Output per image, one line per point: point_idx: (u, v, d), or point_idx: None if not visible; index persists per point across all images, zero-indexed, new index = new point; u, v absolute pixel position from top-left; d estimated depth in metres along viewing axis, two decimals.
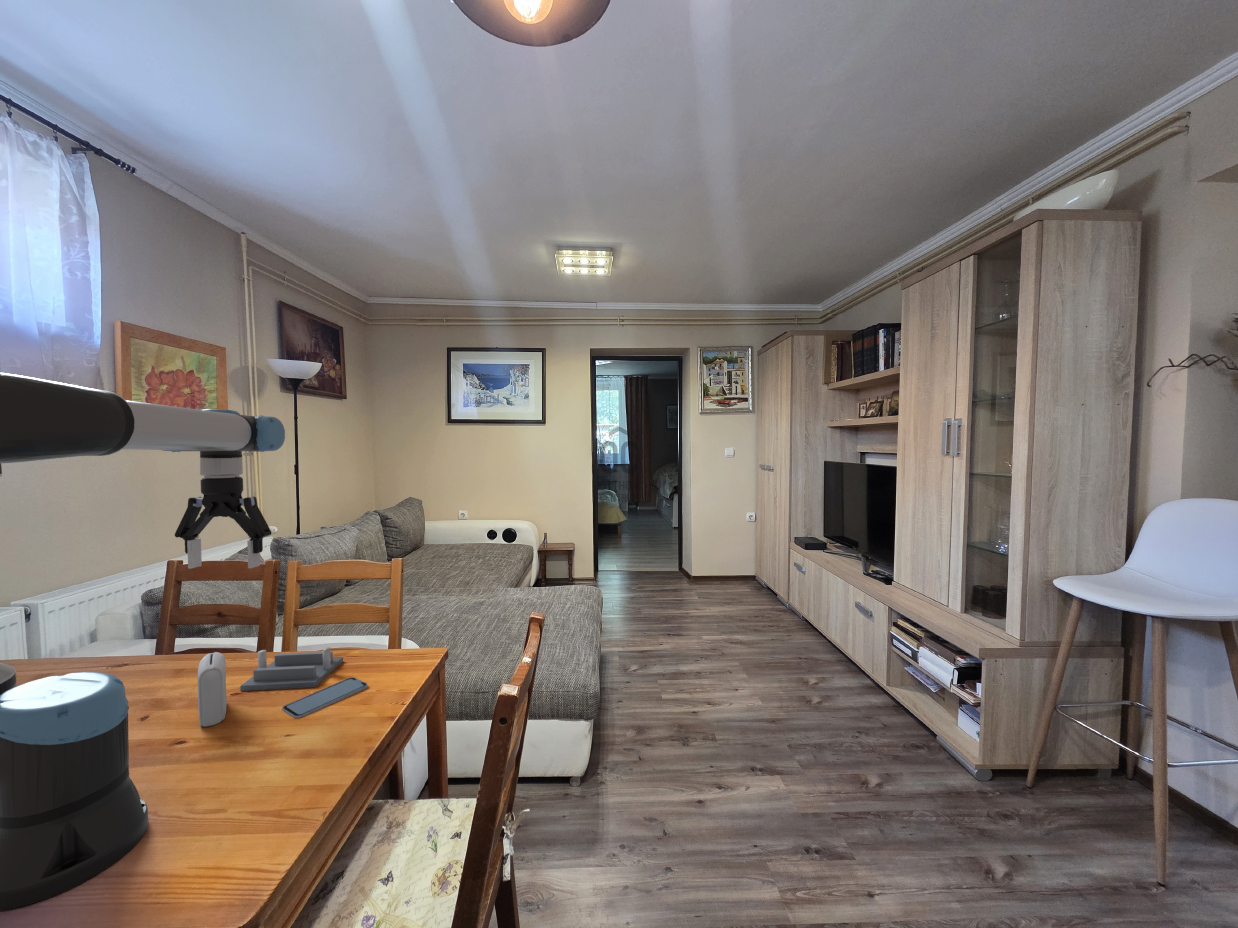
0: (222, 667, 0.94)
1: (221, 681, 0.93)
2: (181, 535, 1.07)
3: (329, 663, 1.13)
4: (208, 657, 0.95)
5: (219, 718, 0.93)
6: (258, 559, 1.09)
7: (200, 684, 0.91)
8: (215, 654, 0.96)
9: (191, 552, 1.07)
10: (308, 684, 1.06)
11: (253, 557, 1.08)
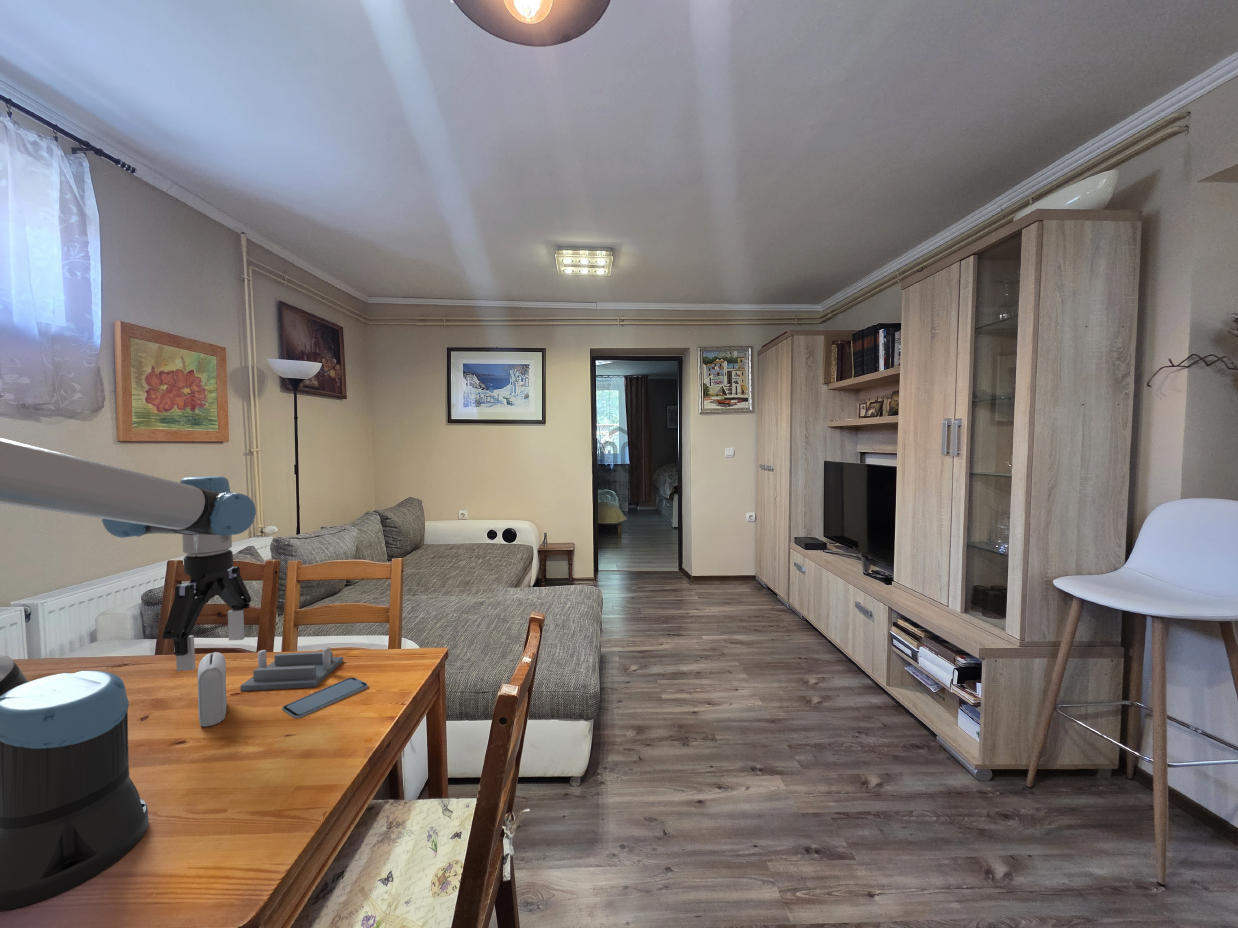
0: (222, 667, 0.94)
1: (221, 681, 0.93)
2: None
3: (329, 663, 1.13)
4: (207, 657, 0.95)
5: (219, 718, 0.93)
6: (189, 662, 0.88)
7: (200, 684, 0.91)
8: (215, 654, 0.96)
9: (229, 623, 1.02)
10: (308, 684, 1.06)
11: (180, 659, 0.88)
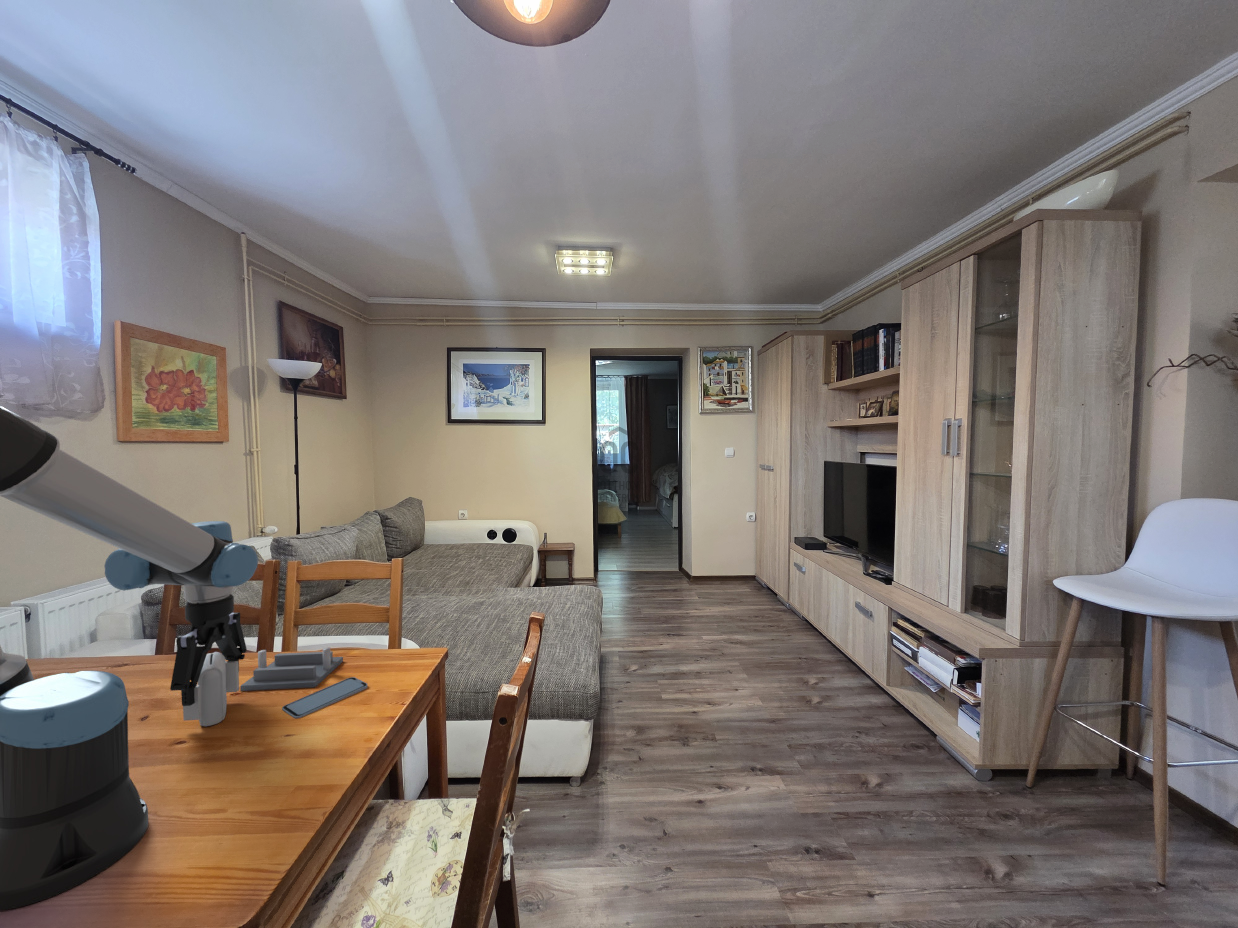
0: (222, 667, 0.94)
1: (221, 681, 0.93)
2: None
3: (329, 663, 1.13)
4: (207, 657, 0.95)
5: (219, 718, 0.93)
6: (195, 711, 0.90)
7: (200, 684, 0.91)
8: (215, 654, 0.96)
9: None
10: (308, 684, 1.06)
11: (187, 708, 0.90)
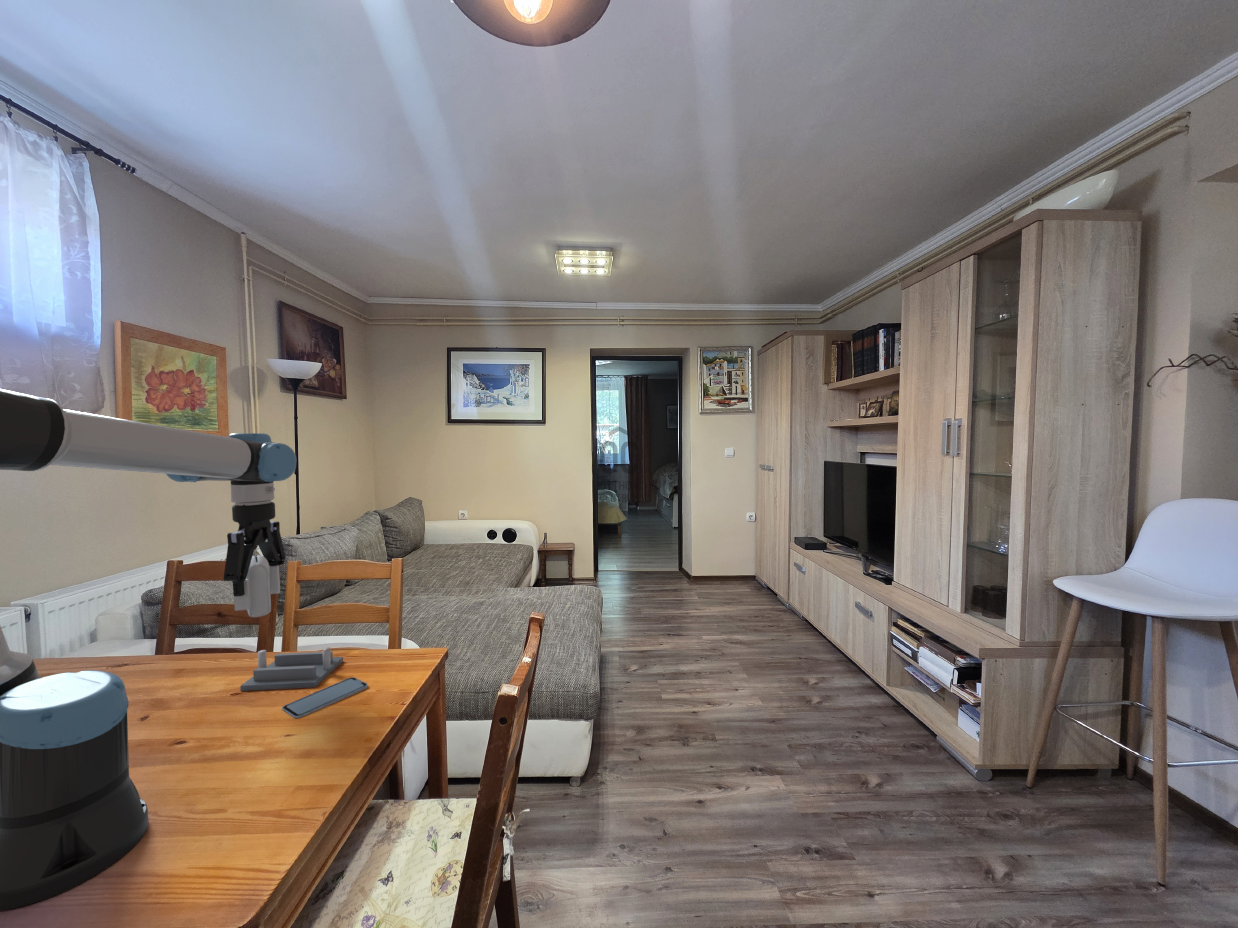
0: (267, 565, 1.02)
1: (267, 577, 1.01)
2: None
3: (329, 663, 1.13)
4: (253, 557, 1.03)
5: (265, 610, 1.01)
6: (245, 603, 0.99)
7: (248, 578, 0.99)
8: (259, 555, 1.04)
9: None
10: (308, 684, 1.06)
11: (237, 599, 0.98)
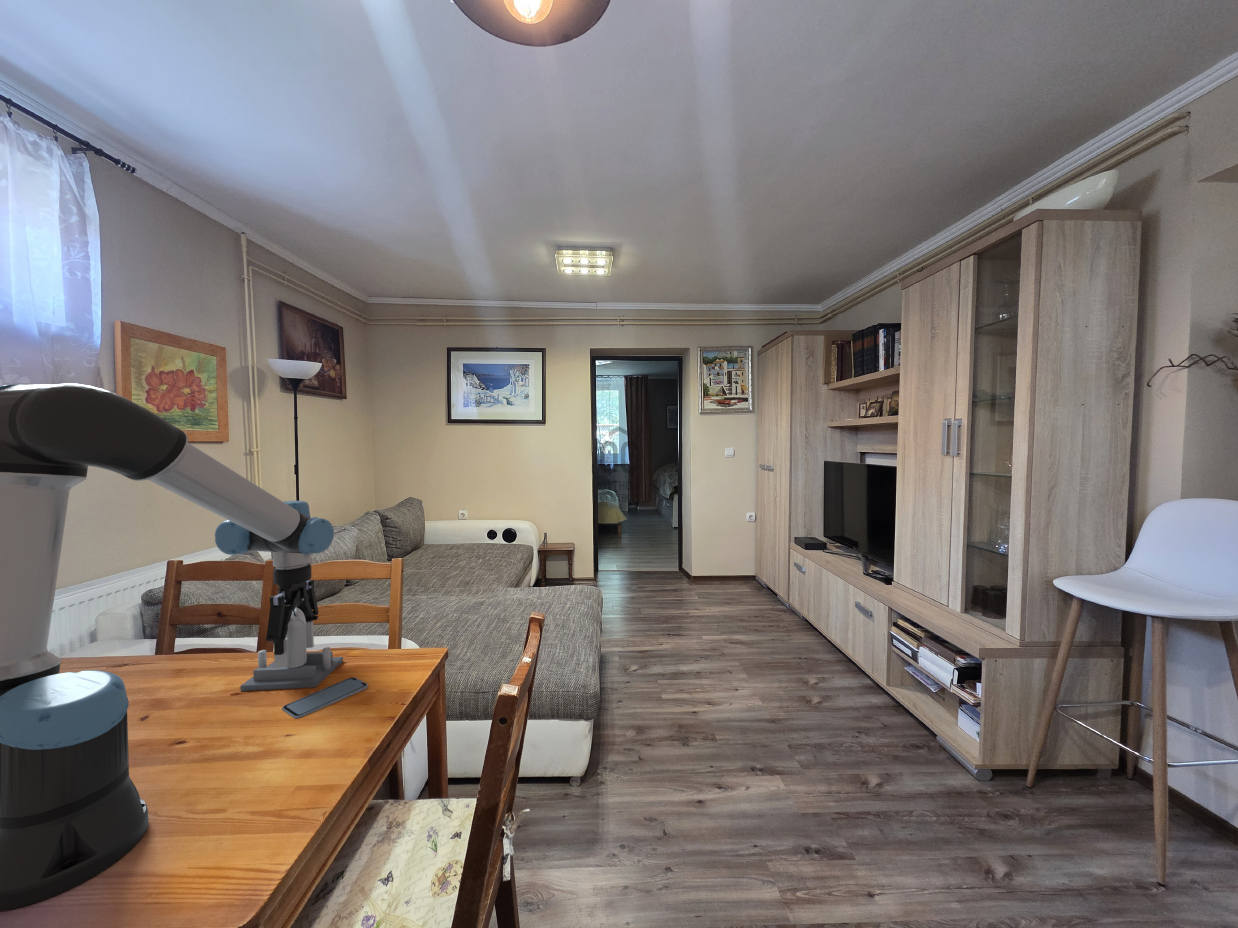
0: (304, 619, 1.10)
1: (304, 630, 1.09)
2: None
3: (329, 663, 1.13)
4: None
5: (302, 661, 1.09)
6: (284, 660, 1.07)
7: (288, 632, 1.07)
8: (296, 609, 1.13)
9: None
10: (308, 684, 1.06)
11: (277, 657, 1.07)
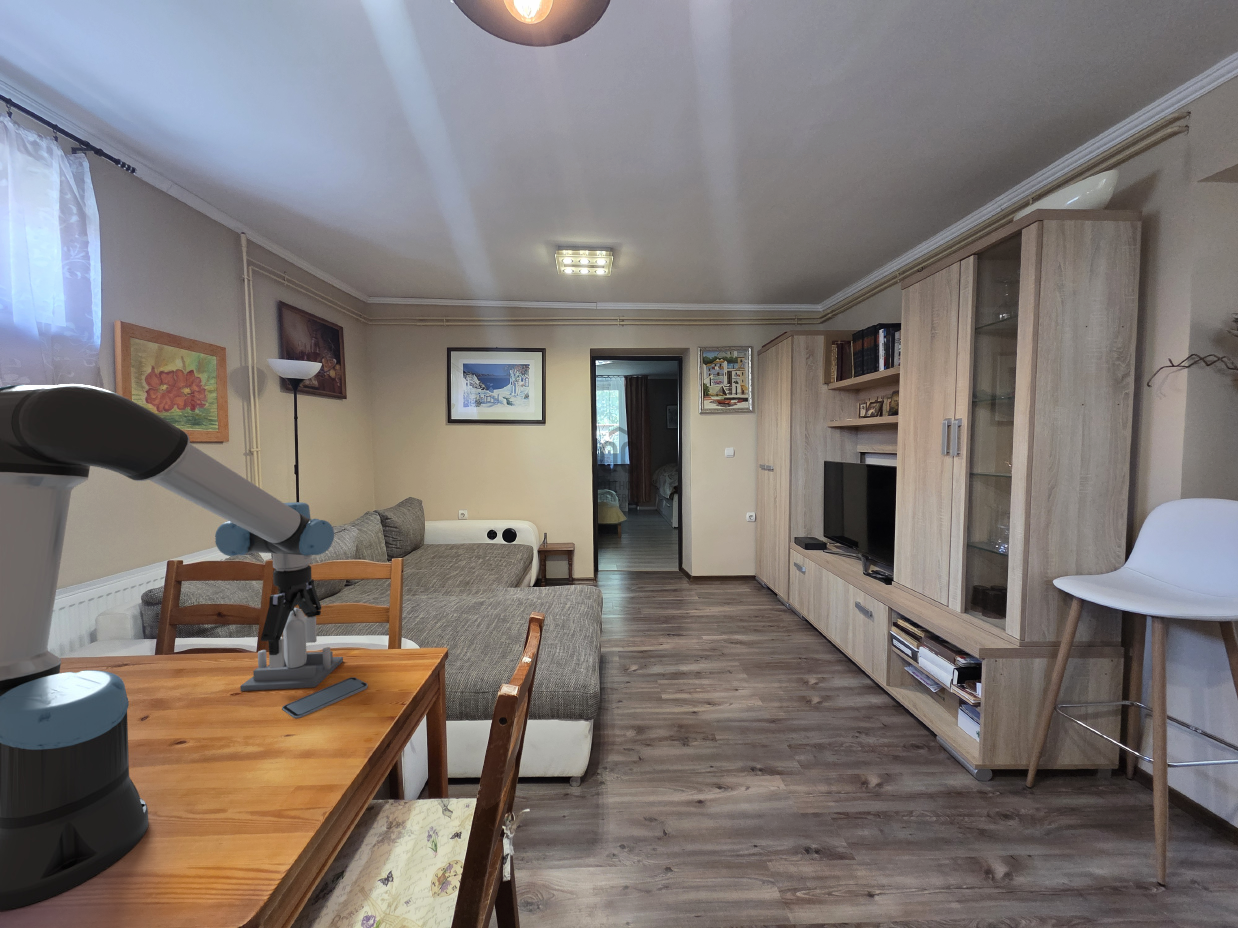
0: (304, 619, 1.10)
1: (304, 630, 1.09)
2: None
3: (329, 663, 1.13)
4: None
5: (302, 661, 1.09)
6: (279, 660, 1.05)
7: (288, 632, 1.07)
8: (296, 609, 1.13)
9: None
10: (308, 684, 1.06)
11: (272, 657, 1.05)
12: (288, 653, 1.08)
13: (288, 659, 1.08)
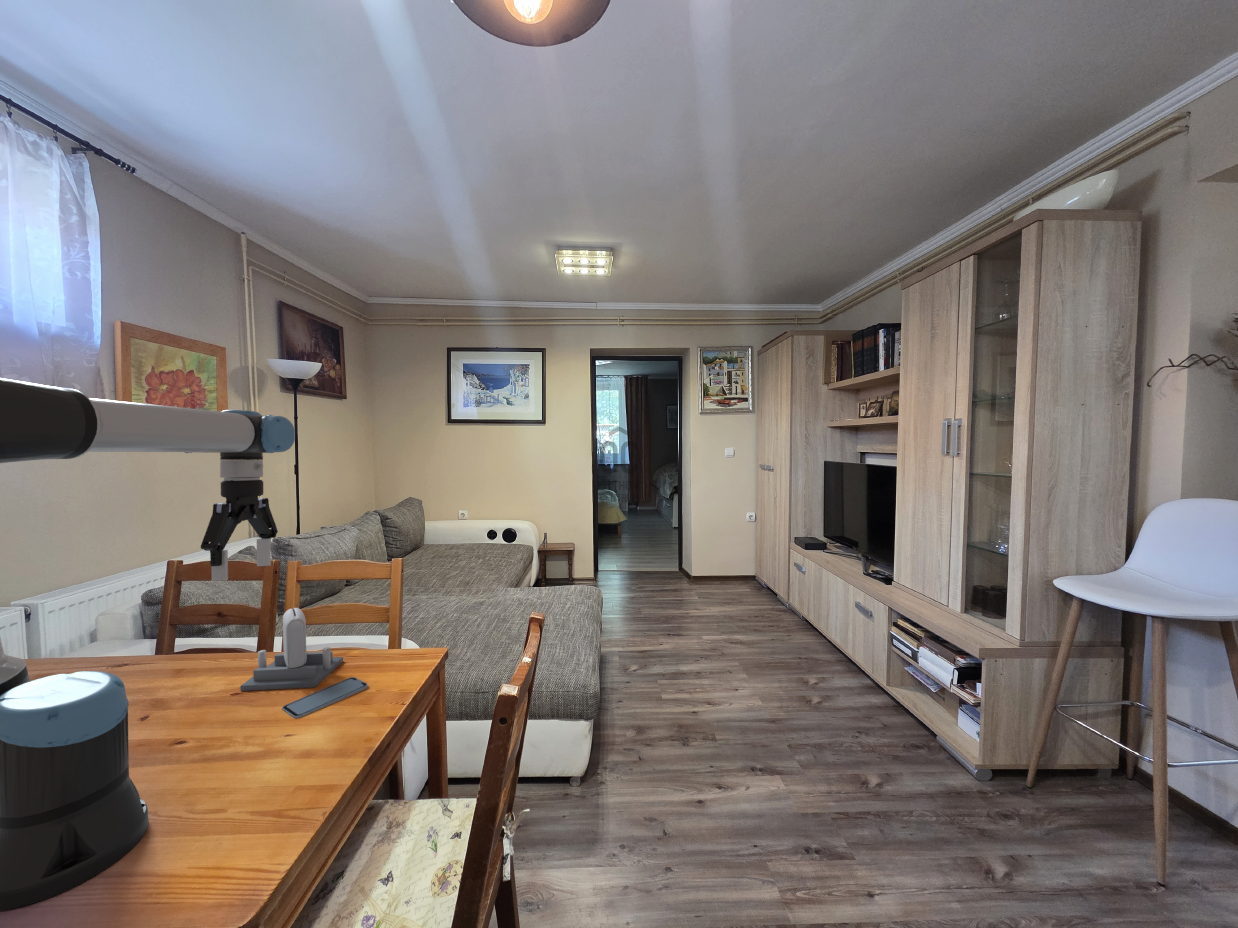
0: (304, 619, 1.10)
1: (304, 630, 1.09)
2: None
3: (329, 663, 1.13)
4: (291, 610, 1.11)
5: (302, 661, 1.09)
6: (222, 573, 0.98)
7: (288, 632, 1.07)
8: (296, 609, 1.13)
9: (257, 550, 1.11)
10: (308, 684, 1.06)
11: (215, 570, 0.98)
12: (288, 653, 1.08)
13: (288, 659, 1.08)
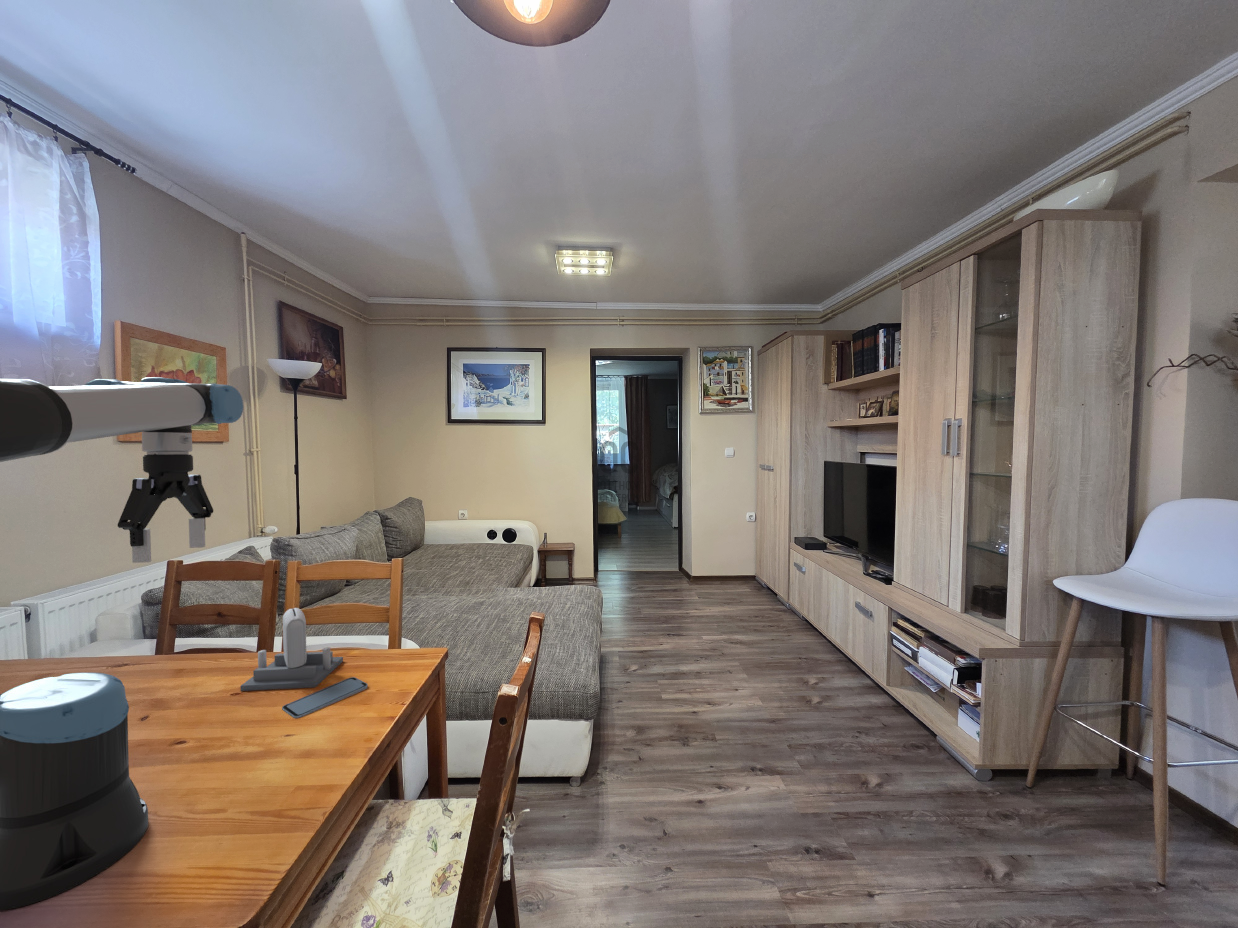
0: (304, 619, 1.10)
1: (304, 630, 1.09)
2: None
3: (329, 663, 1.13)
4: (291, 610, 1.11)
5: (302, 661, 1.09)
6: (145, 554, 0.90)
7: (288, 632, 1.07)
8: (296, 609, 1.13)
9: (189, 531, 1.04)
10: (308, 684, 1.06)
11: (136, 550, 0.90)
12: (288, 653, 1.08)
13: (288, 659, 1.08)
